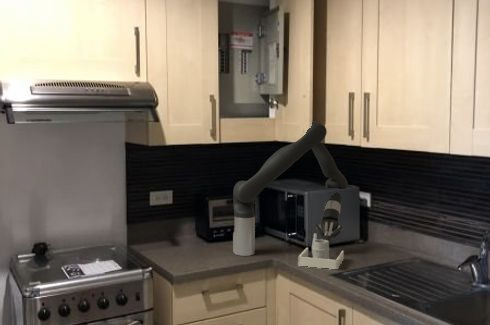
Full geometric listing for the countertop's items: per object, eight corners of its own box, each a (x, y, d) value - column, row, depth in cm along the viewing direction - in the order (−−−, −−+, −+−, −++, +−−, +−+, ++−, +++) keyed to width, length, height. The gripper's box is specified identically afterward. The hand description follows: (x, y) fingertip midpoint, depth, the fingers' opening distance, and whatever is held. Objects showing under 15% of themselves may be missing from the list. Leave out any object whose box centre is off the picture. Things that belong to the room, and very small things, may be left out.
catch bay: (306, 256, 242) (306, 247, 242) (343, 259, 237) (343, 250, 237) (297, 266, 227) (298, 256, 226) (337, 270, 221) (337, 260, 221)
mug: (316, 267, 226) (317, 238, 225) (304, 259, 237) (305, 232, 236) (333, 265, 228) (333, 237, 227) (320, 258, 239) (320, 231, 238)
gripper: (316, 207, 252) (310, 238, 242) (345, 208, 248) (340, 240, 237) (318, 216, 258) (313, 247, 247) (346, 217, 253) (342, 249, 243)
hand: (326, 244), depth 242 cm, fingers closed
